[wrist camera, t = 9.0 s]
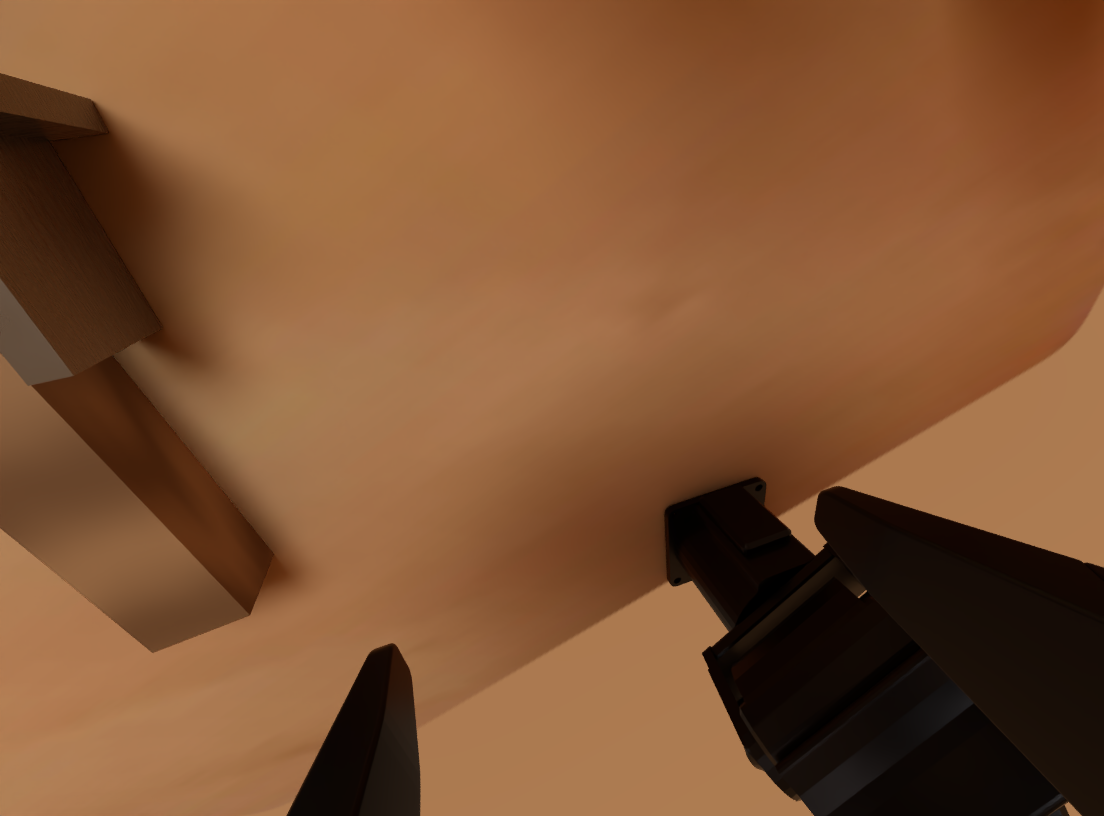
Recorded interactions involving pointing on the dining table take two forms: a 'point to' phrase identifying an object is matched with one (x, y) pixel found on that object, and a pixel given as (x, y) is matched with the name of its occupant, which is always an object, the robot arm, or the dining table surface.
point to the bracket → (56, 246)
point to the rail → (123, 506)
